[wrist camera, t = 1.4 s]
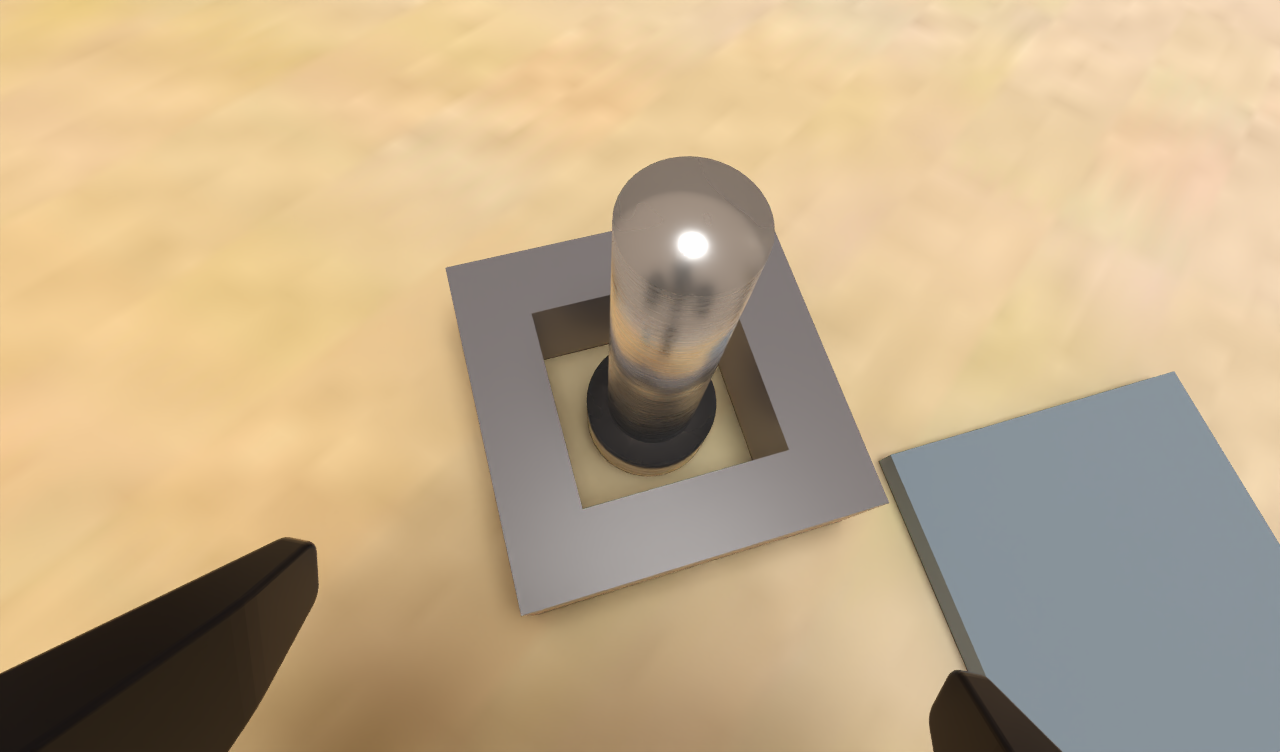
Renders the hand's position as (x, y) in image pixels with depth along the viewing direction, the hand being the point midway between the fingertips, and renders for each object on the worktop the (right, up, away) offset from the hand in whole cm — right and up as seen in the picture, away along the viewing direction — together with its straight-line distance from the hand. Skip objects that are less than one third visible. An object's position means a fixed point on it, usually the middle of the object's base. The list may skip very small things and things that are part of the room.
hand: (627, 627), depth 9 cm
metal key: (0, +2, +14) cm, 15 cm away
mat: (+16, -4, +13) cm, 21 cm away
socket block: (+1, +2, +14) cm, 15 cm away
